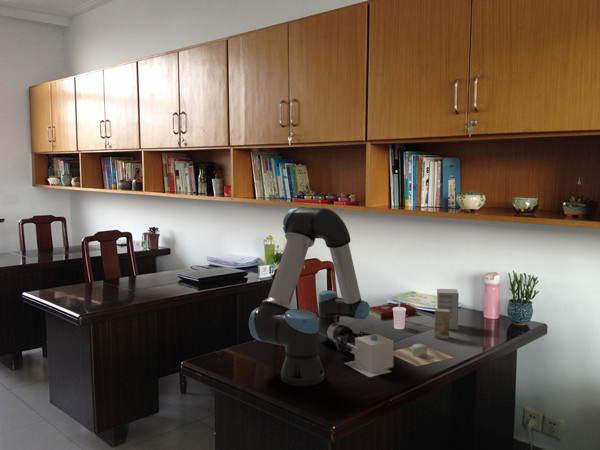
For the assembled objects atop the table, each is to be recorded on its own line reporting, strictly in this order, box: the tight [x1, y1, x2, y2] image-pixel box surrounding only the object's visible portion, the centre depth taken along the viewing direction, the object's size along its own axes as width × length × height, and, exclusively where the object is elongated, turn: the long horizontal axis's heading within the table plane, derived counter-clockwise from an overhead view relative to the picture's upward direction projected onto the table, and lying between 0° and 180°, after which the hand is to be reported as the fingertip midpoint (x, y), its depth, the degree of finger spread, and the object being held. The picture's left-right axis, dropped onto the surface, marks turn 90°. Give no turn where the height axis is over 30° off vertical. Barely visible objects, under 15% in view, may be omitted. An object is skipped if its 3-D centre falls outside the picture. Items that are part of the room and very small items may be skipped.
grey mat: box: [343, 360, 393, 378], centre depth 199 cm, size 16×16×1 cm
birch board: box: [393, 346, 454, 367], centre depth 209 cm, size 18×18×1 cm
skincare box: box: [433, 308, 450, 340], centre depth 232 cm, size 6×4×12 cm
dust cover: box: [354, 333, 394, 373], centre depth 198 cm, size 10×10×11 cm
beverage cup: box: [393, 297, 406, 330], centre depth 247 cm, size 6×6×14 cm
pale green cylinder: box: [411, 343, 428, 357], centre depth 209 cm, size 6×6×4 cm
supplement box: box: [436, 288, 460, 330], centre depth 248 cm, size 10×9×17 cm
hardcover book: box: [368, 302, 418, 321], centre depth 271 cm, size 12×21×4 cm, turn 114°
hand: (372, 348), depth 200 cm, fingers open, 13 cm apart
